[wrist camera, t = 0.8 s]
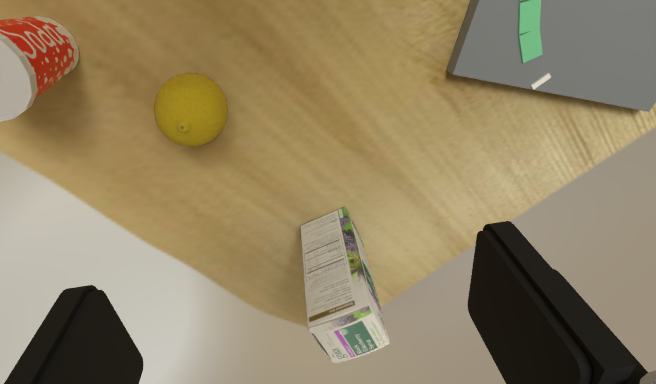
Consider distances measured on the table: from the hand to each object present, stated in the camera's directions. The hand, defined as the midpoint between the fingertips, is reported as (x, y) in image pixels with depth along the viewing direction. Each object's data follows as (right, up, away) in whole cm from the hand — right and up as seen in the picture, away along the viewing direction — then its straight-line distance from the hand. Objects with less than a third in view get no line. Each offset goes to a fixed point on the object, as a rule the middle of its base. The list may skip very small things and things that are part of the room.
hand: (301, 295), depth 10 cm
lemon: (-11, +12, +25) cm, 30 cm away
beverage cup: (-22, +15, +22) cm, 34 cm away
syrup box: (+1, -2, +35) cm, 35 cm away
